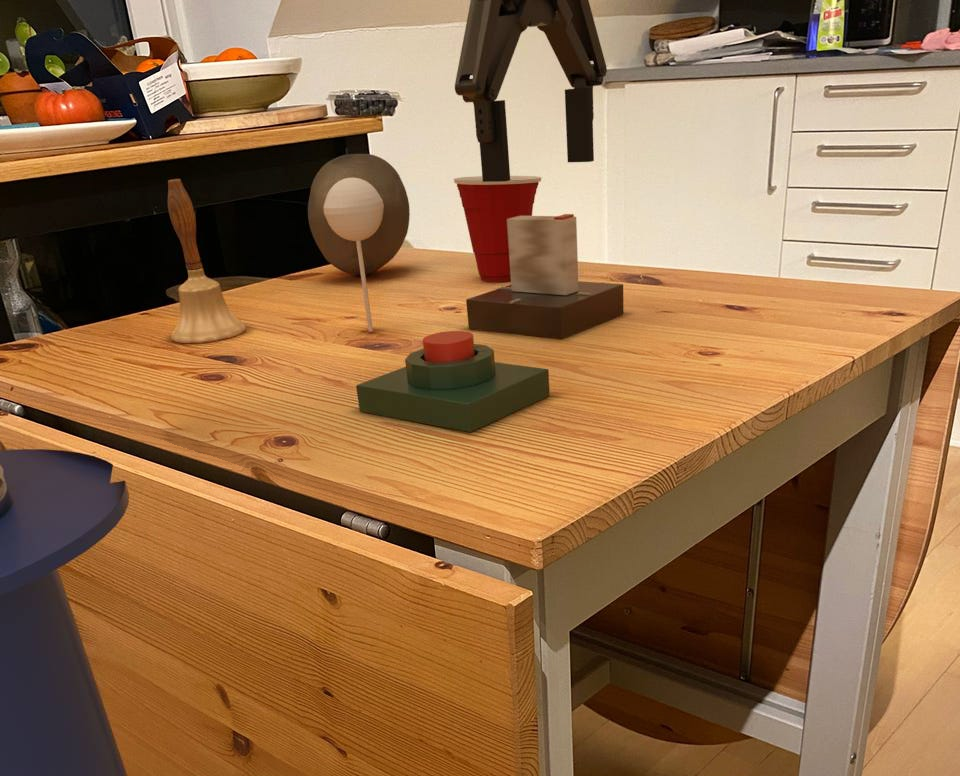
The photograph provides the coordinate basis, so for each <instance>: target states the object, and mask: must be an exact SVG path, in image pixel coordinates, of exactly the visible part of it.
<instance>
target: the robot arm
mask: <svg viewBox="0 0 960 776" xmlns="http://www.w3.org/2000/svg"><path fill="white" fill-rule="evenodd" d="M535 27H536V28H537V29H538V30H539V31H541V32H543V33H544V35H545V37H546V39H547V41H548V43H549V45H550V47H551V49H552V51H553V53H554V55H555V57H556V59H557V61H558V63H559V65H560V67H561V69H562V71H563V73H564V75H565V78H566V79H567V81H568V83H569V85H570V87H571V88H567V89H564V105H565V128H566V129H565V130H566V155H567V163H591V162H592V163H593V162H595V155H594V147H595V146H594V117H595V116H594V114H595V113H594V87H600V86H602V85H603V83H604V78H605V77H606V76H607V72H608V69H607V68H608V67H607V63H606V60H605V56H604V52H603V49H602V45H601V42H600V38H599V34H598V30H597V27H596V23H595V19H594V15H593V11H592V7H591V5H590V0H470V2H469V7H468V14H467V18H466V23H465V27H464V28H465V30H464V34H463V40H462V44H461V50H460V54H459V55H460V56H459V61H458V67H457V72H456V75H455V76H456V77H455V80H454V81H455V82H454V92H455V94H456V95H457V96H458V97H459V96H462V97H461V98H462V100H463V102H465V103H468V104H469V103H472V104H473V112H474V123H475V135H476V140H477V143H479V152H480V153H479V155H480V164H481V176H482V179H483V182H504V181H510V176H511V170H510V169H511V168H510V156H509V155H510V153H509V141H508V139H509V138H508V125H507V111H506V100H505V99H501V100H497V99H498V97H499V95H500V92H501V89H502V87H503V84H504V81H505V79H506V75H507V73H508V70H509V67H510V65H511V63H512V59H513V56H514V54H515V51H516V48H517V46H518V43H519V41H520V37H521V35H522V33H523V32H525V31H527V28H535ZM591 62H593V63H591ZM471 76H472V78H471ZM11 502H12V501H11V496H10V493H9V490H8V488H7V485H6V482H5V479H4V477H3V468H2V467H1V465H0V518H1V517H2V516H3V515H4V514H5V513H6V512H7V511H8V509H9V508H10V506H11Z"/></svg>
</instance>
